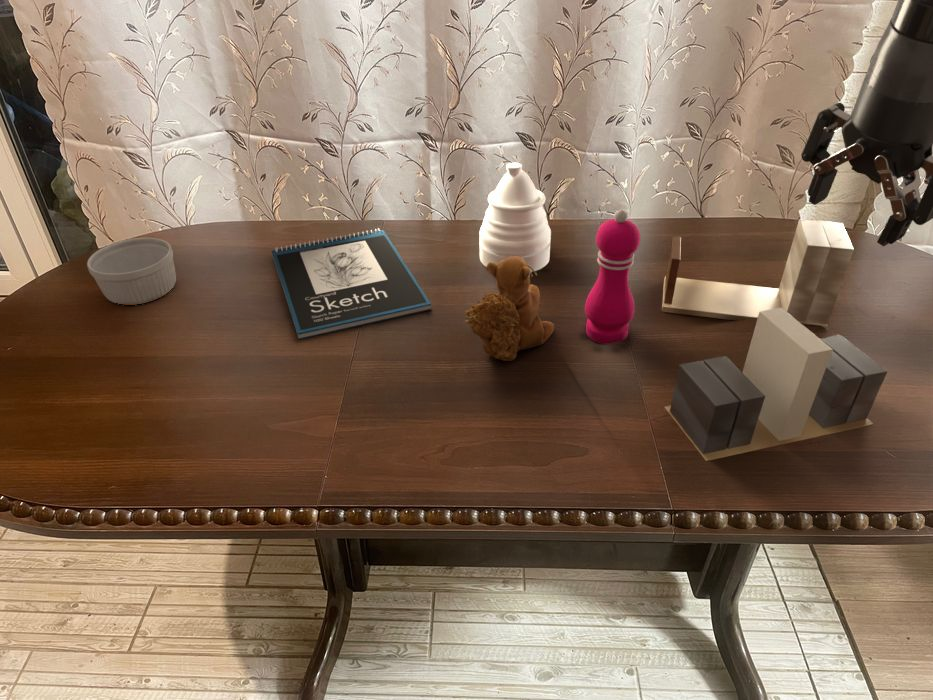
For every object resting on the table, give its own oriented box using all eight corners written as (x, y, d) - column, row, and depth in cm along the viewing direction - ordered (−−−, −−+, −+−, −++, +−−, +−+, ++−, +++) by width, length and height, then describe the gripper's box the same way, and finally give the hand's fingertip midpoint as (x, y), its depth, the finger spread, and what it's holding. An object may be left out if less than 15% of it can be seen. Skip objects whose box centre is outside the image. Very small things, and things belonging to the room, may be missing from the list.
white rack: (816, 298, 106) (842, 221, 98) (825, 331, 98) (854, 251, 90) (663, 281, 112) (676, 207, 104) (661, 311, 104) (675, 234, 96)
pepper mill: (619, 317, 103) (635, 197, 91) (638, 343, 97) (658, 218, 85) (575, 323, 102) (586, 202, 90) (592, 350, 96) (606, 224, 84)
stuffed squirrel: (557, 328, 101) (562, 252, 93) (519, 379, 91) (521, 298, 83) (499, 313, 105) (499, 238, 97) (456, 360, 95) (453, 281, 87)
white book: (755, 391, 86) (781, 307, 78) (800, 436, 79) (833, 349, 71) (735, 395, 85) (759, 311, 78) (778, 441, 78) (809, 354, 71)
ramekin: (191, 294, 112) (180, 258, 108) (109, 319, 106) (94, 282, 102) (171, 264, 121) (160, 230, 117) (94, 286, 115) (79, 251, 111)
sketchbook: (299, 341, 100) (296, 329, 99) (272, 256, 123) (270, 246, 122) (432, 310, 106) (431, 299, 105) (382, 234, 129) (381, 225, 128)
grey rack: (816, 381, 89) (836, 329, 84) (871, 430, 81) (895, 376, 76) (662, 412, 84) (673, 359, 80) (704, 466, 77) (719, 412, 72)
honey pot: (542, 278, 114) (547, 178, 103) (471, 269, 117) (469, 171, 106) (555, 245, 123) (561, 151, 113) (489, 238, 127) (489, 146, 116)
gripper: (1024, 93, 54) (935, 241, 67) (872, 33, 62) (819, 175, 75) (965, 127, 52) (885, 273, 65) (817, 60, 60) (771, 201, 73)
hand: (850, 220), depth 70 cm, fingers open, 8 cm apart
